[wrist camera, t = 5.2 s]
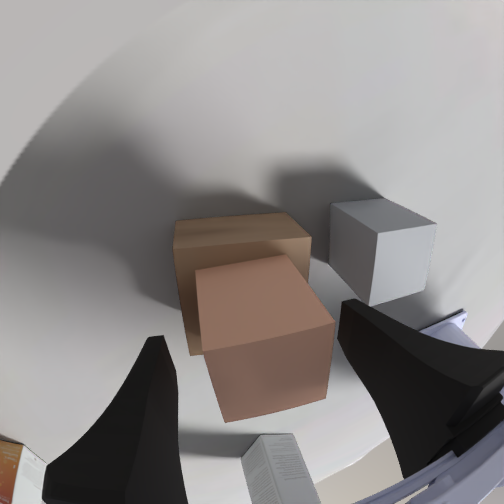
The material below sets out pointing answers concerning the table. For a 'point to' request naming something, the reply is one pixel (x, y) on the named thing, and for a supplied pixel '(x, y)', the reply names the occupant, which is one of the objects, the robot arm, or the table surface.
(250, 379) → the terracotta block
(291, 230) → the walnut block
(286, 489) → the skincare box
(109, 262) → the table surface
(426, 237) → the slate block
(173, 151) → the table surface
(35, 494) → the small box
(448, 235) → the table surface
